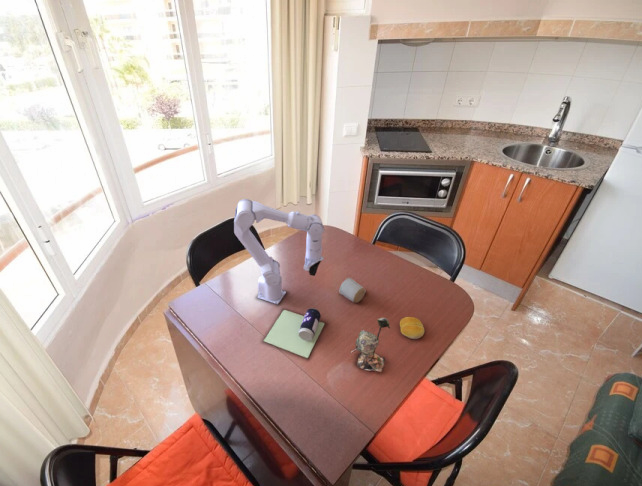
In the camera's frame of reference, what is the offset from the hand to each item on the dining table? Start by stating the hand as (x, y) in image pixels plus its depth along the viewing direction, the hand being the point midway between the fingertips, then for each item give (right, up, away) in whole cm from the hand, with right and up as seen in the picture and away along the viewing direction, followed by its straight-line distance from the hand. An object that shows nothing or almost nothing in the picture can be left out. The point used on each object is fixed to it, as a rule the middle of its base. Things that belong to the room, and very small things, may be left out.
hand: (312, 274), depth 129 cm
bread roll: (+35, -20, -11) cm, 41 cm away
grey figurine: (+16, -27, -22) cm, 38 cm away
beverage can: (0, -14, -7) cm, 15 cm away
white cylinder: (+17, -9, +4) cm, 20 cm away
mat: (-8, -20, -11) cm, 24 cm away
